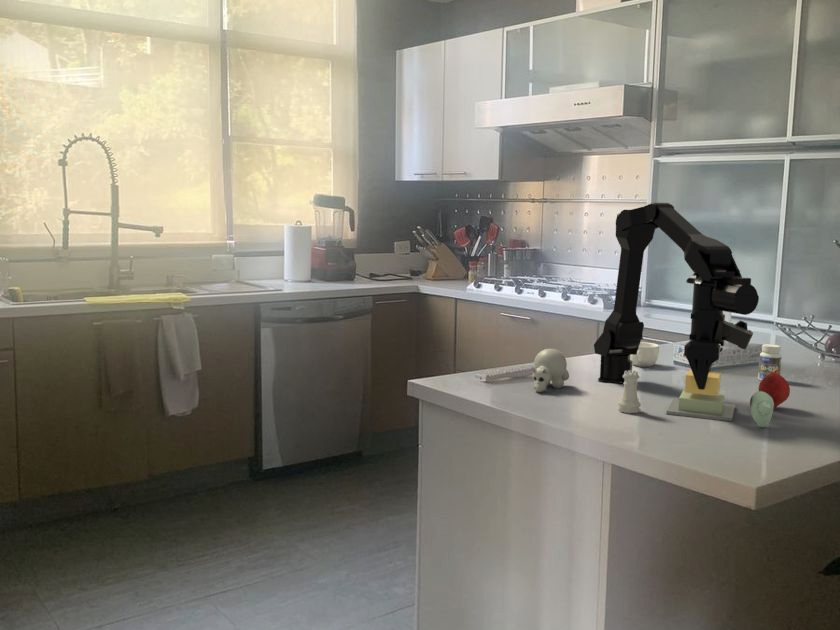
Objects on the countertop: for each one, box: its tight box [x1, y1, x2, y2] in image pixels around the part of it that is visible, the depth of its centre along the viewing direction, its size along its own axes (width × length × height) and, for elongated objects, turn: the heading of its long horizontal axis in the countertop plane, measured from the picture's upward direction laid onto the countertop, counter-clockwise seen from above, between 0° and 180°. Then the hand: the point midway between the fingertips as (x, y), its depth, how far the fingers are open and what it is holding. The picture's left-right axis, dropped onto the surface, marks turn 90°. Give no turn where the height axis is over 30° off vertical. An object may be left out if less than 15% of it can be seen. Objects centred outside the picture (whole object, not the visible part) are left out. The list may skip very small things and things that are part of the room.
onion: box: [757, 369, 791, 409], centre depth 163 cm, size 6×6×8 cm
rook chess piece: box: [617, 370, 642, 415], centre depth 159 cm, size 4×4×8 cm
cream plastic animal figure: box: [531, 348, 570, 393], centre depth 178 cm, size 7×12×8 cm, turn 145°
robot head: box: [749, 390, 775, 428], centre depth 149 cm, size 8×4×7 cm, turn 157°
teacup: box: [630, 341, 660, 368], centre depth 206 cm, size 10×8×5 cm
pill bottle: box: [757, 343, 782, 382], centre depth 190 cm, size 5×5×8 cm
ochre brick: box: [684, 369, 722, 396], centre depth 160 cm, size 6×6×4 cm
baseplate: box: [666, 389, 736, 422], centre depth 160 cm, size 12×12×3 cm
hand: (702, 386), depth 160 cm, fingers closed on ochre brick, 6 cm apart
